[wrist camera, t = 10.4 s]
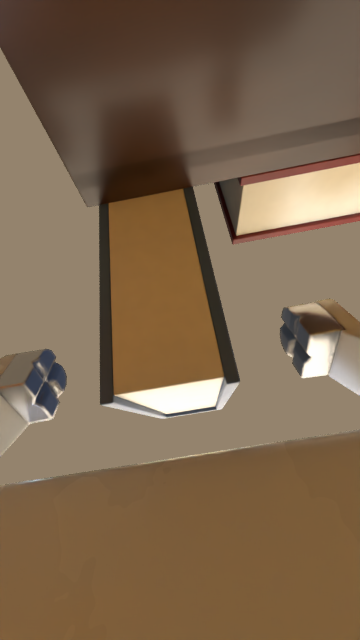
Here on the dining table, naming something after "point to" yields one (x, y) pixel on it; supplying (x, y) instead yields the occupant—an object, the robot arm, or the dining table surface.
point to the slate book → (161, 310)
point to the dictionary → (291, 199)
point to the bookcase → (186, 87)
